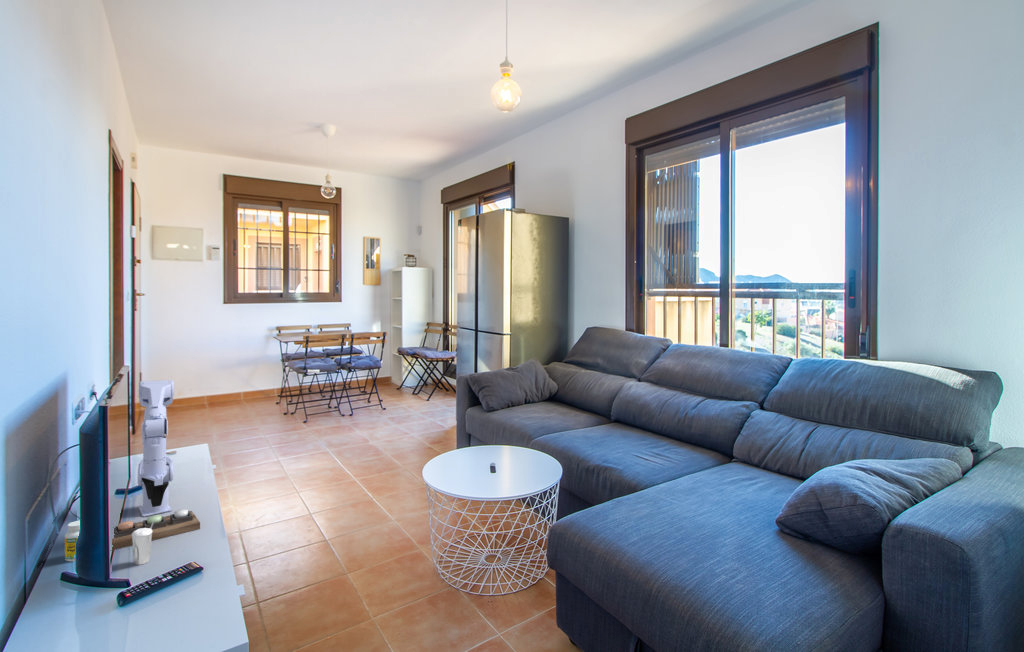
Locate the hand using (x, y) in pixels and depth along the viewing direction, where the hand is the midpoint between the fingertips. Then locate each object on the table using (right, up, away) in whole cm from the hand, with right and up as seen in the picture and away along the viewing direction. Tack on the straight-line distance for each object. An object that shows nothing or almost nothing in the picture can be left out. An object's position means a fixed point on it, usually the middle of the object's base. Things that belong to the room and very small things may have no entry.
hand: (154, 502), depth 154 cm
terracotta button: (-5, -6, -5) cm, 9 cm away
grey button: (+5, -6, +5) cm, 9 cm away
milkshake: (+9, -10, -17) cm, 22 cm away
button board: (0, -9, 0) cm, 9 cm away
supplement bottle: (-10, -10, -16) cm, 21 cm away
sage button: (0, -6, 0) cm, 6 cm away
